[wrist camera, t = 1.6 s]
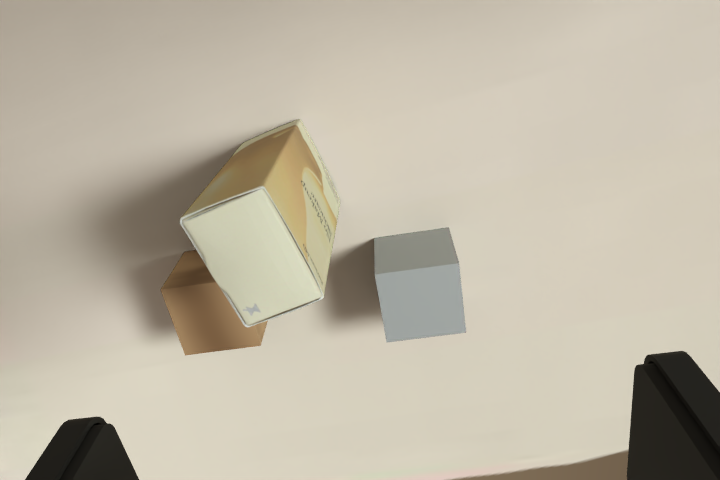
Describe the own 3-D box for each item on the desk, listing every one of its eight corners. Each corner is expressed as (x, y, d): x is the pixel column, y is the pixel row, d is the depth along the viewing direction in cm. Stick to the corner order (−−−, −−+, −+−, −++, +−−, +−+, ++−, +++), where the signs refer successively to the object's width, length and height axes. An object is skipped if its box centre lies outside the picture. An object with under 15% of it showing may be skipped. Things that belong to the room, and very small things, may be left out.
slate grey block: (448, 226, 37) (458, 263, 33) (455, 290, 39) (466, 332, 35) (374, 237, 38) (374, 274, 33) (385, 299, 40) (386, 342, 35)
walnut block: (255, 241, 38) (240, 278, 34) (272, 302, 40) (260, 345, 36) (184, 251, 38) (160, 289, 34) (205, 311, 41) (185, 355, 36)
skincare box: (343, 201, 36) (331, 305, 26) (283, 225, 37) (247, 335, 26) (298, 111, 34) (264, 183, 23) (236, 139, 35) (174, 221, 24)
